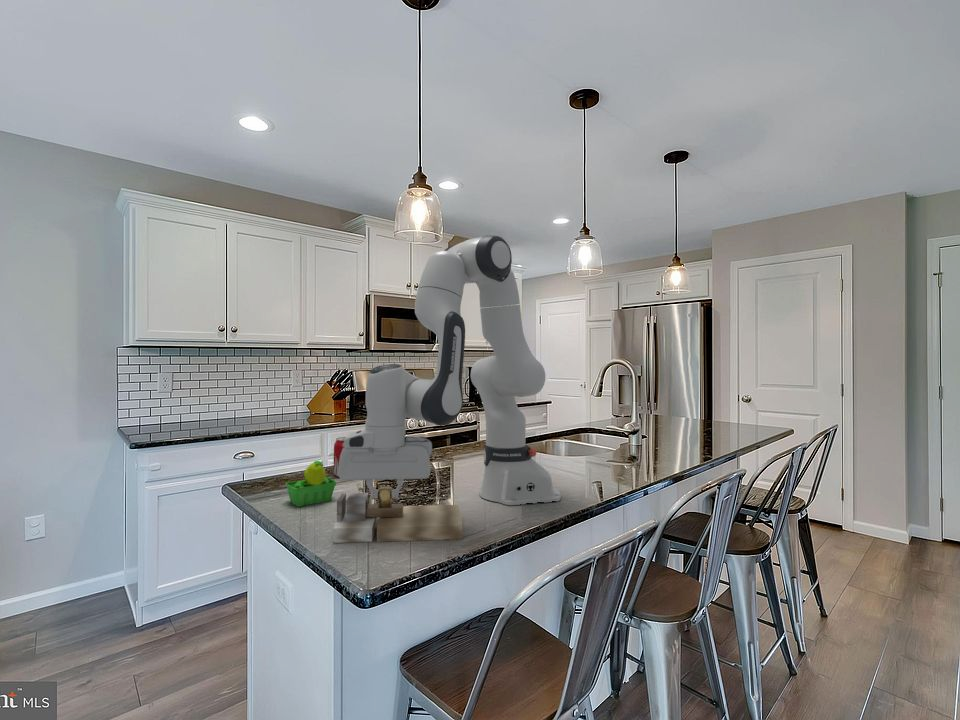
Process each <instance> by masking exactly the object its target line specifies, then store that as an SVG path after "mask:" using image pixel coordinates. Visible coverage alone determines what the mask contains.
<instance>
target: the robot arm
mask: <svg viewBox="0 0 960 720" xmlns="http://www.w3.org/2000/svg"><path fill="white" fill-rule="evenodd" d="M510 248H511V247H510V246H509V244H508V243H507V241H506V240H505V239H504V238H503V237H501V236H499V235H491V234H490V235H484V236H481V237H474V238H469V239H467V240H464V241H462V242H459V243H458V244H453V245H451V246H448V247H447V248H444V250H437V251H436V252H433V253H432V254H431V255H430V256H429V258H428V259H427V262H426V263H425V266H424V268H423V271H422V274H421V276H420V280H419V282H418V287H417V291H416V295H415V301H414V314H415V316H416V318H417V320H418V321H419V322H420V324H421V325H422V326H423V327H424V328H426V329H427V330H429V331H431V332H433V334H435V335H436V337H437V340H438V350H437V351H438V354H437V363H436V372H435V376H434V377H433V379H425V378H420V377H418V376H417V375H414V374H412V373H410V372H408V371H407V370H406V369H404V367H403V366H402V365H401V364H396V363H389V364H382V365H378V366H374V367H373V368H372V369H370V370H369V372H368V375H367V379H366V383H365V384H366V385H365V408H366V412H367V413H366V418H365V419H366V420H365V424H364V425H365V426H364V427H365V429H361V430H358V431H355V432H352V433H349V434H348V435H346V436H345V437H346V438H345V440H344V446H345V448H344V450H343V451H342V452H341V455H340V459H339V467H338V476H339V477H338V478H339V479H340V480H341V481H366V482H365V485H366V487H367V488H368V490H369V491H370V493H371V496H370V497H371V498H370V499H371V500H378V489H375V486H374V485H373V484H374V481H375V480H376V481H377V480H378V481H379V480H384V481H385V480H396V484H397V486H396V488H395V489H393V488H392V492H391V495H392V496H391V499H392V500H398V499H399V492H400V490H401V488H402V486H403V485H404V480H426V479H428V478H429V477H430V476H431V461H430V456H431V455H432V453H433V452H432V451H433V443H432V441H431V439H428V438H426V437H425V436H417V437H416V436H406V419H407V418H408V419H414V420H416V421H422V422H427V423H431V424H434V425H438V426H439V427H440V426H441V427H442V426H443V427H444V426H448V425H450V424H451V423H453V422H454V421H456V419H457V418H458V417H459V415H460V413H461V411H462V410H463V405H464V394H463V373H464V371H463V370H464V361H465V360H464V358H465V345H466V324H465V319H463V317H462V315H461V305H462V300H463V295H464V287H465V284H474V283H475V284H476V286H477V288H478V290H479V293H478V294H479V308H480V310H479V311H480V320H481V331H482V332H481V333H482V336H483V338H484V340H486V341H487V343H489V345H490V346H491V348H492V351H493V353H494V355H490V356H486V357H483V358H479V359H478V360H477V361H475V362H474V363H473V365H472V366H471V370H470V381H471V383H472V385H473V386H474V388H476V390H477V392H478V394H479V397H480V399H481V402H482V406H483V410H484V417H485V444H484V449H483V464H484V470H483V478H482V483H481V489H480V491H479V496H480V497H481V498H482V499H483V500H486V501H491V502H495V503H500V504H503V505H505V506H519V505H520V504H521V505H527V504H526V503H533V504H538V503H537V502H544V503H552V501H556V502H560V501H561V499H562V495H561V492H560V490H559V489H557V488H556V487H554V485H553V481H552V477H551V476H552V475H550V472H548V471H547V469H545V468H544V467H543V466H542V465H541V464H539V462H537V461H536V460H535V459H533V457H536V456H537V455H538V452H537V450H536V449H535V448H532V447H530V445H529V446H528V445H527V444H526V431H527V430H526V428H527V427H526V421H527V420H526V417H525V414H524V413H523V412H522V411H521V409H520V408H519V407H518V404H517V401H516V399H515V397H517V398H523V397H524V398H525V397H530V396H535V395H537V394H539V393H540V392H541V391H542V389H543V388H544V386H545V383H546V372H545V368H544V365H543V364H542V363H541V362H540V361H539V360H538V359H537V358H536V357H535V356H534V355H533V353H532V351H531V350H530V348H529V345H528V342H527V340H526V337H525V334H524V329H523V322H522V321H523V320H522V312H521V300H520V295H519V294H520V293H519V289H518V285H517V280H516V277H515V273H514V271H513V270H512V262H513V261H512V259H513V258H512V257H513V255H512V251H511V249H510Z"/></svg>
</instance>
